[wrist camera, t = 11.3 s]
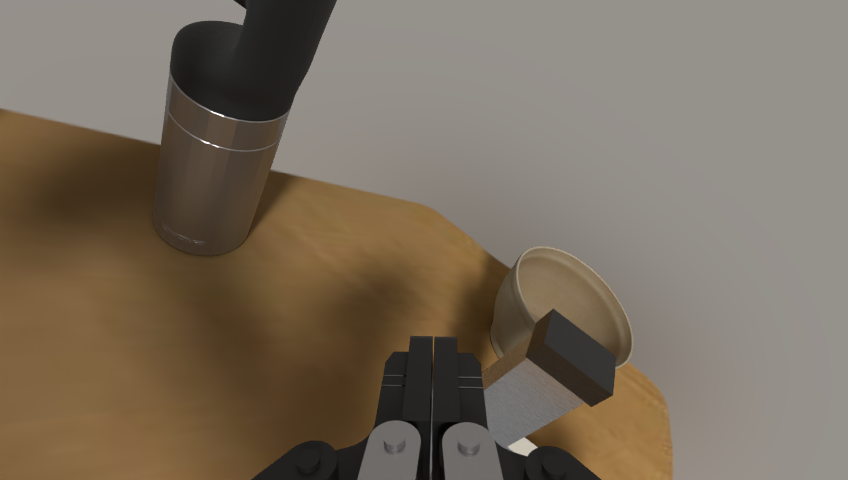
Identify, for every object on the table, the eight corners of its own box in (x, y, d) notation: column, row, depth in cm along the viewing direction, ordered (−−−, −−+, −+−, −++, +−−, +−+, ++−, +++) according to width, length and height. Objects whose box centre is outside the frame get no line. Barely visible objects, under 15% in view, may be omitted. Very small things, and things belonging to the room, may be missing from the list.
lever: (480, 468, 39) (612, 395, 29) (429, 429, 40) (543, 342, 29) (491, 434, 42) (616, 356, 32) (443, 397, 42) (553, 308, 32)
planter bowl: (460, 280, 61) (507, 229, 54) (555, 310, 66) (608, 267, 59) (472, 395, 50) (532, 349, 43) (584, 419, 55) (654, 382, 48)
